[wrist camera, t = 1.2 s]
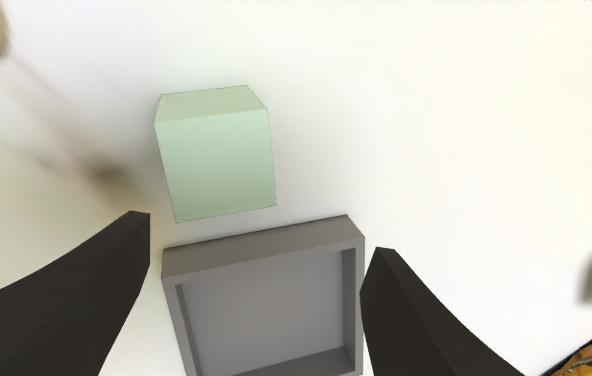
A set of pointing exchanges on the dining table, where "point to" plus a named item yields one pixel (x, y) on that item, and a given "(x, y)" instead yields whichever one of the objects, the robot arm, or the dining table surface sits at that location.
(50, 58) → the dining table surface
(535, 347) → the dining table surface
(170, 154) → the mint block
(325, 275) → the gray tray
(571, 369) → the prepared meal
